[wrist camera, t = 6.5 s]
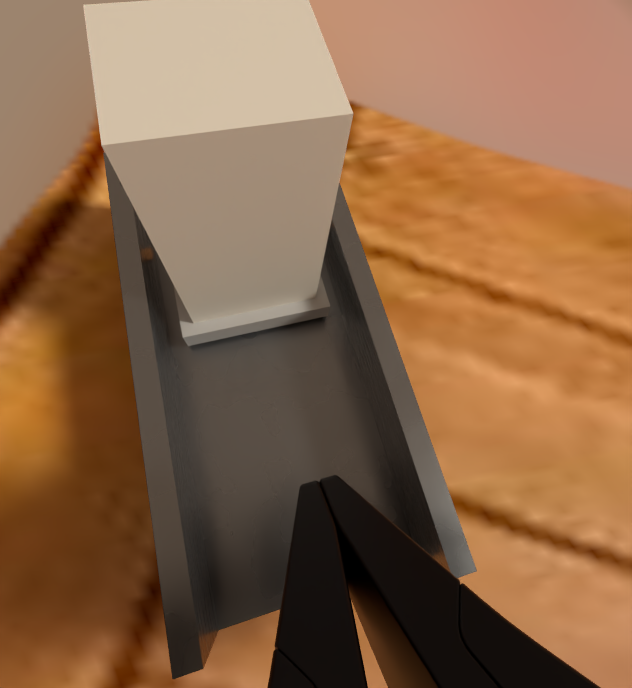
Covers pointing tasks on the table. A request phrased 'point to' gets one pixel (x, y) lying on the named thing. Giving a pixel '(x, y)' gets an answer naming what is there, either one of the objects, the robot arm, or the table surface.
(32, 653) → the table surface
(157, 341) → the rail housing
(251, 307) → the cream rectangular block
